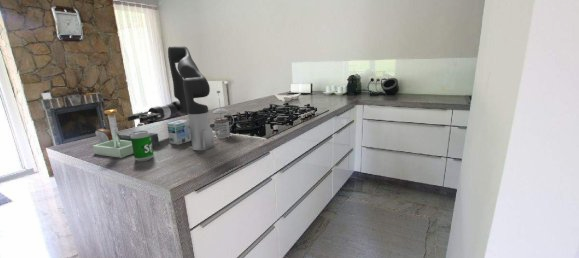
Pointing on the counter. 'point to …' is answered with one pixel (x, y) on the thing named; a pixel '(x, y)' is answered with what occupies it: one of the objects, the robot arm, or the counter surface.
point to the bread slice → (103, 135)
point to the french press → (218, 122)
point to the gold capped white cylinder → (113, 127)
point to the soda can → (142, 145)
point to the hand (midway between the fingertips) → (134, 119)
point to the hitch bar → (127, 134)
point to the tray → (114, 149)
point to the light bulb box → (179, 131)
